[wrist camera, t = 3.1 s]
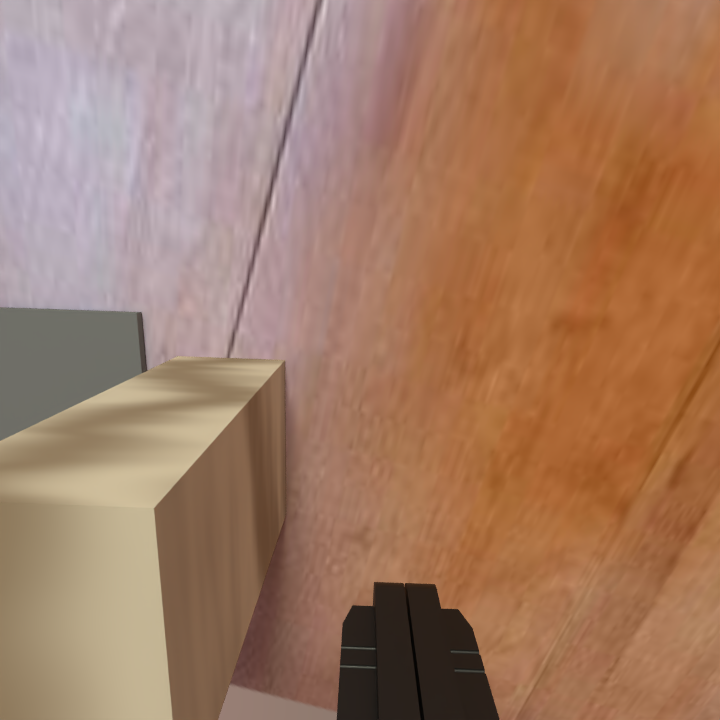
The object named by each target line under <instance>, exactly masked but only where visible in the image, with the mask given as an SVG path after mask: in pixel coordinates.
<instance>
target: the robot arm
mask: <svg viewBox="0 0 720 720" xmlns="http://www.w3.org/2000/svg"><path fill="white" fill-rule="evenodd" d="M337 720H499V716H498V713H497V710H496V706H495V703H494V699H493V696H492V693H491V689H490V686H489V683H488V679H487V676H486V674H485V669H484V666H483V662H482V659H481V656H480V655H479V649H478V646H477V642H476V639H475V635H474V632H473V629H472V627H471V626H470V624H469V623H468V622H467V620H466V619H465V618H464V616H463V615H462V614H461V612H460V611H459V610H458V609H441V606H440V602H439V597H438V593H437V589H436V586H435V584H415V583H405V587H404V584H403V583H385V582H374V593H373V606H352V607H351V609H350V611H349V613H348V615H347V617H346V618H345V620H344V622H343V628H342V644H341V660H340V677H339V693H338V709H337Z"/></svg>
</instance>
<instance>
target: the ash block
mask: <svg viewBox="0 0 720 720" xmlns="http://www.w3.org/2000/svg"><path fill="white" fill-rule="evenodd" d="M285 516H286V427H285V360H266V359H239V358H211V357H183V356H177V357H175V358H173V359H171V360H169V361H167V362H165V363H163V364H160V365H158V366H156V367H154V368H152V369H150V370H148V371H146V372H144V373H142V374H140V375H137V376H135V377H133V378H131V379H129V380H127V381H125V382H123V383H121V384H119V385H116V386H114V387H112V388H110V389H108V390H106V391H104V392H102V393H100V394H98V395H96V396H93V397H91V398H89V399H87V400H85V401H83V402H81V403H79V404H77V405H75V406H72V407H70V408H68V409H66V410H64V411H62V412H60V413H58V414H56V415H54V416H52V417H49V418H47V419H45V420H43V421H41V422H39V423H37V424H35V425H33V426H31V427H28V428H26V429H24V430H22V431H20V432H18V433H16V434H14V435H12V436H10V437H8V438H5V439H3V440H1V441H0V720H218V718H219V714H220V712H221V709H222V705H223V703H224V700H225V697H226V693H227V691H228V687H229V685H230V682H231V679H232V676H233V673H234V670H235V667H236V664H237V661H238V658H239V655H240V652H241V649H242V646H243V643H244V640H245V637H246V634H247V631H248V628H249V625H250V622H251V619H252V616H253V613H254V610H255V607H256V604H257V601H258V598H259V595H260V592H261V589H262V586H263V583H264V580H265V577H266V574H267V571H268V568H269V565H270V562H271V559H272V556H273V553H274V550H275V546H276V543H277V540H278V537H279V534H280V531H281V528H282V525H283V522H284V519H285Z"/></svg>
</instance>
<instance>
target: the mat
mask: <svg viewBox="0 0 720 720" xmlns="http://www.w3.org/2000/svg"><path fill="white" fill-rule="evenodd" d="M144 372H146V360H145V349H144V337H143V325H142V314H141V312H118V311H89V310H60V309H31V308H2V307H0V441H1V440H3V439H5V438H8V437H10V436H12V435H14V434H16V433H18V432H20V431H22V430H24V429H26V428H28V427H31V426H33V425H35V424H37V423H39V422H41V421H43V420H45V419H47V418H49V417H52V416H54V415H56V414H58V413H60V412H62V411H64V410H66V409H68V408H70V407H72V406H75V405H77V404H79V403H81V402H83V401H85V400H87V399H89V398H91V397H93V396H96V395H98V394H100V393H102V392H104V391H106V390H108V389H110V388H112V387H114V386H116V385H119V384H121V383H123V382H125V381H127V380H129V379H131V378H133V377H135V376H137V375H140V374H142V373H144Z"/></svg>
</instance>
